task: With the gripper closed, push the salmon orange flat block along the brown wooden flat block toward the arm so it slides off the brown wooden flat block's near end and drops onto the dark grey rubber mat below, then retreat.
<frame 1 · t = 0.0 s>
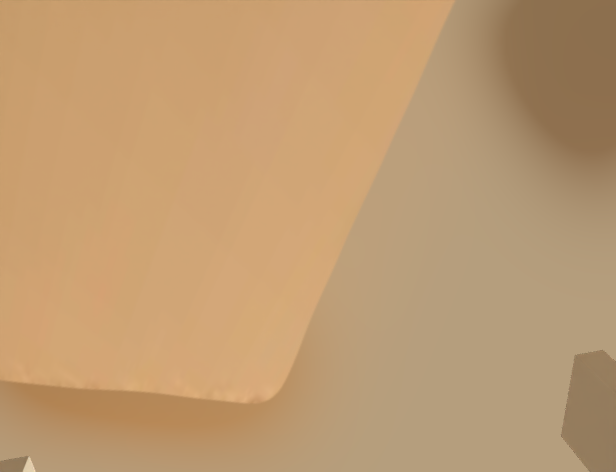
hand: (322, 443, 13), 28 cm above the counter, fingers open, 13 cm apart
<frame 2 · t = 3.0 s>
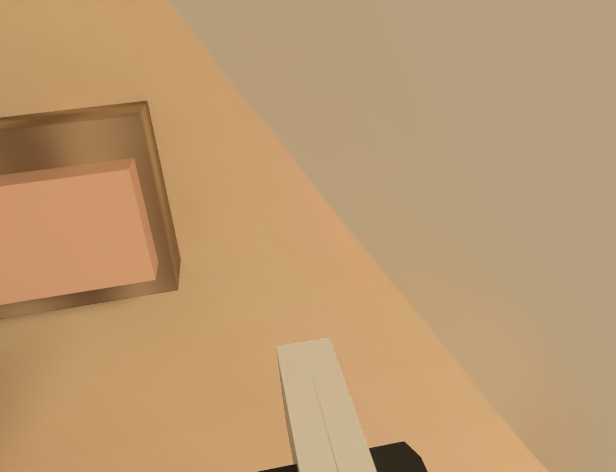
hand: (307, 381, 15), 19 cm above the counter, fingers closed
salmon orange flat block: (57, 225, 27), point 4 cm above the counter, touching brown wooden flat block
brown wooden flat block: (65, 199, 30), on the counter
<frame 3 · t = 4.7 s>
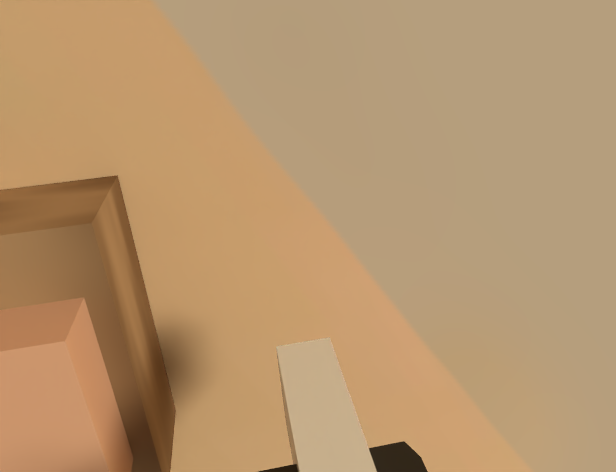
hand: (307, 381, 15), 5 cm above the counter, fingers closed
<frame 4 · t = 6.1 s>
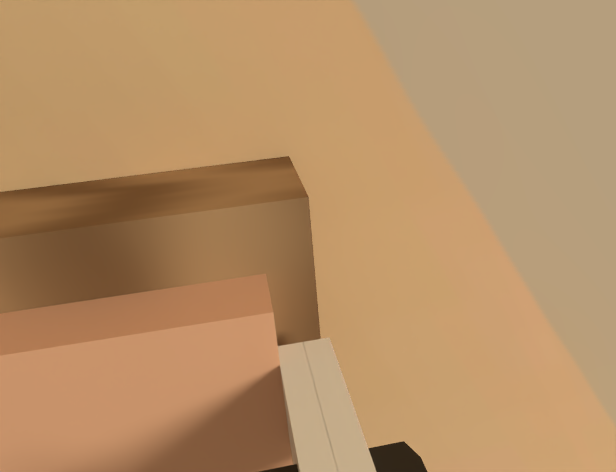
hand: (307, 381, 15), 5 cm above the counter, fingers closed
salmon orange flat block: (125, 385, 15), point 4 cm above the counter, touching gripper
brown wooden flat block: (145, 309, 19), on the counter
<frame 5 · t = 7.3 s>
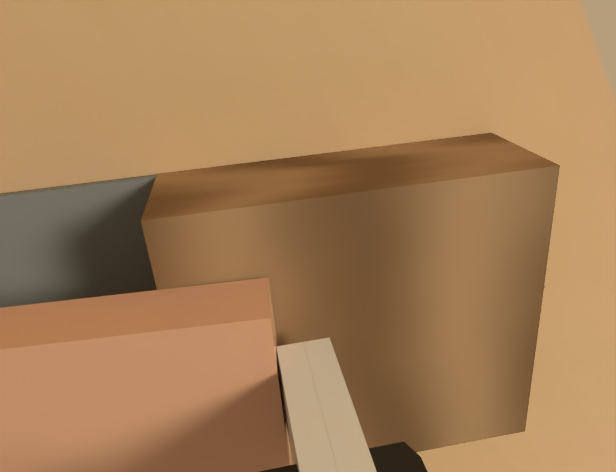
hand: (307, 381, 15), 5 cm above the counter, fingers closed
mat: (4, 332, 18), on the counter
salmon orange flat block: (128, 382, 15), point 4 cm above the counter, touching brown wooden flat block, gripper
brown wooden flat block: (338, 281, 20), on the counter
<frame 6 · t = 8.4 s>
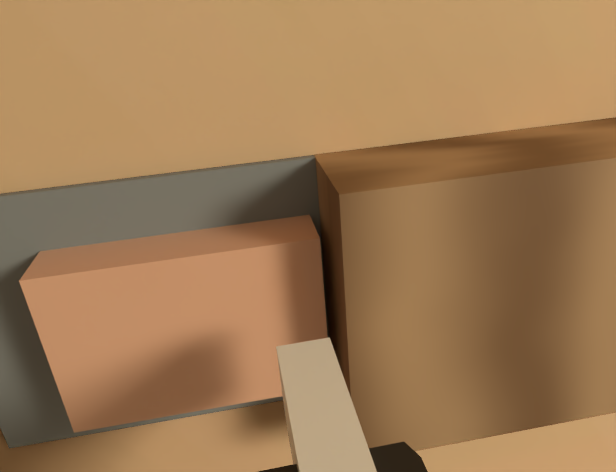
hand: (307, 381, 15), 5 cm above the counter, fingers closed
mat: (154, 308, 19), on the counter
salmon orange flat block: (193, 307, 19), resting on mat
brown wooden flat block: (468, 261, 20), on the counter
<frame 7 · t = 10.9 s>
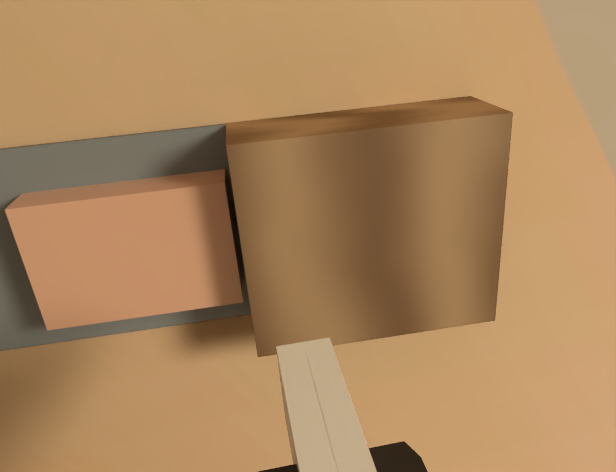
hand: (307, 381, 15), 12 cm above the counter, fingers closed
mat: (110, 241, 25), on the counter
salmon orange flat block: (139, 240, 25), resting on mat
brown wooden flat block: (355, 209, 26), on the counter
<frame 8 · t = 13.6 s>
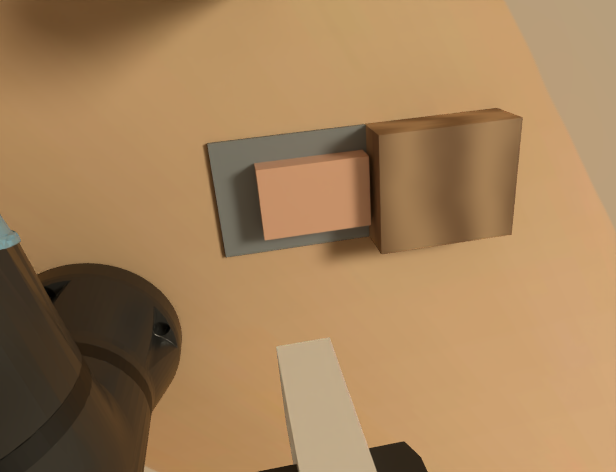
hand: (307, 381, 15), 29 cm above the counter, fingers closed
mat: (294, 191, 44), on the counter
salmon orange flat block: (311, 190, 44), resting on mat
brown wooden flat block: (430, 173, 45), on the counter
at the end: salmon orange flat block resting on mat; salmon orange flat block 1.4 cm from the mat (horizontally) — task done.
